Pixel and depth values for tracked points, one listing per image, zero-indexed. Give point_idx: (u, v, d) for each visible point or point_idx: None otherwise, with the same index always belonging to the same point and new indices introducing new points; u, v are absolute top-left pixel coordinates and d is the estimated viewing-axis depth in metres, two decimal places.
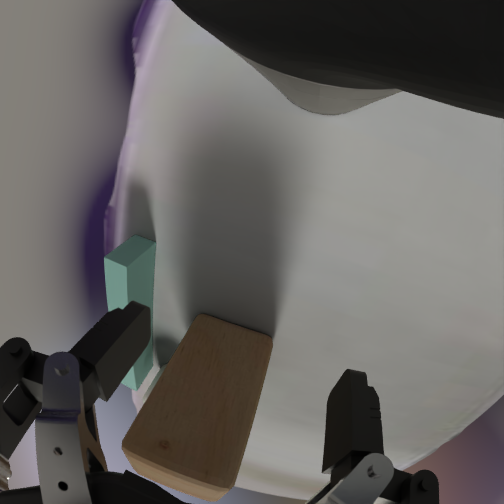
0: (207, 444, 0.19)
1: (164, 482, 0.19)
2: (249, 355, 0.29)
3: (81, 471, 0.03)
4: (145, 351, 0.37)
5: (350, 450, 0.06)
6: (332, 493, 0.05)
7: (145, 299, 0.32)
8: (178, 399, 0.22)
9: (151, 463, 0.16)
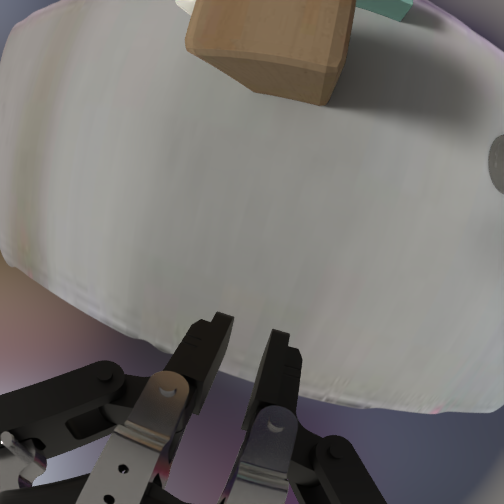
0: None
1: None
2: None
3: (138, 496, 0.03)
4: None
5: (254, 399, 0.07)
6: (242, 460, 0.05)
7: None
8: None
9: None
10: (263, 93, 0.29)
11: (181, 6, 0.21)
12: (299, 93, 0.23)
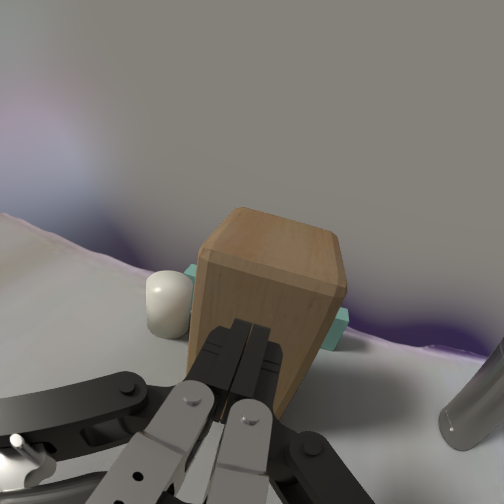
0: None
1: (261, 224, 0.22)
2: None
3: None
4: None
5: (230, 392, 0.07)
6: (219, 456, 0.05)
7: None
8: None
9: (337, 244, 0.22)
10: None
11: (149, 288, 0.32)
12: None
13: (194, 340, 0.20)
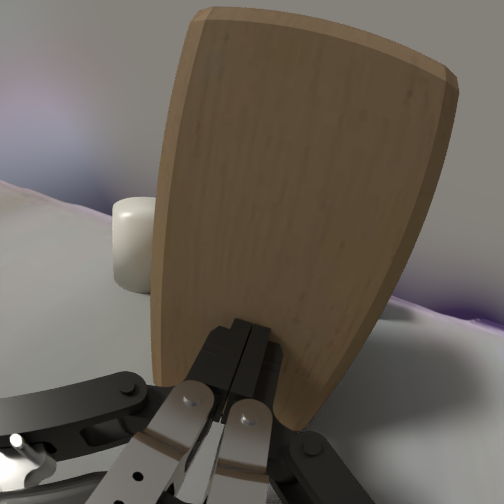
0: None
1: None
2: None
3: None
4: None
5: (229, 392, 0.07)
6: (219, 456, 0.05)
7: None
8: None
9: None
10: None
11: (116, 211, 0.21)
12: (293, 349, 0.11)
13: (162, 214, 0.10)
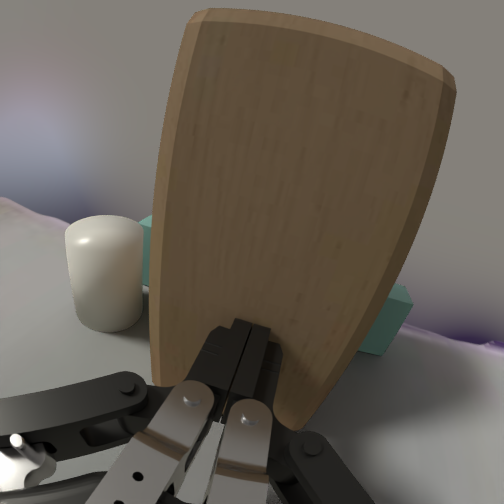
0: None
1: None
2: None
3: None
4: None
5: (229, 392, 0.07)
6: (219, 456, 0.05)
7: None
8: None
9: None
10: None
11: (67, 237, 0.16)
12: (290, 350, 0.11)
13: (159, 215, 0.10)
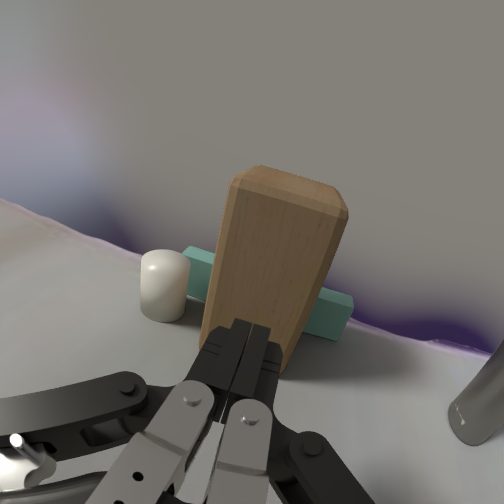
0: None
1: (277, 174, 0.26)
2: None
3: None
4: None
5: (229, 392, 0.07)
6: (219, 456, 0.05)
7: None
8: None
9: (339, 193, 0.26)
10: None
11: (144, 265, 0.30)
12: (272, 324, 0.26)
13: (218, 266, 0.24)
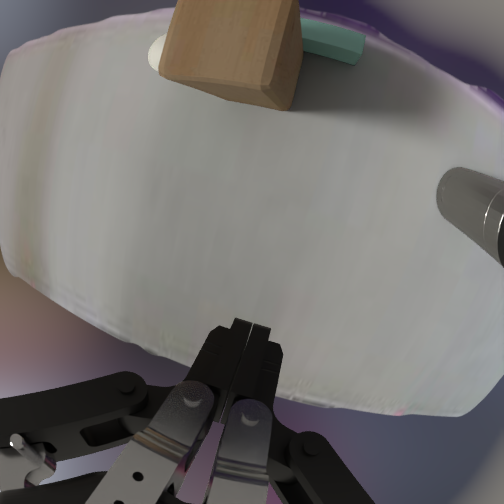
0: (286, 64, 0.19)
1: (202, 15, 0.15)
2: (291, 93, 0.30)
3: None
4: None
5: (230, 392, 0.07)
6: (219, 456, 0.05)
7: (304, 47, 0.29)
8: (297, 39, 0.20)
9: (286, 13, 0.14)
10: (234, 101, 0.35)
11: (153, 67, 0.29)
12: (259, 102, 0.29)
13: None
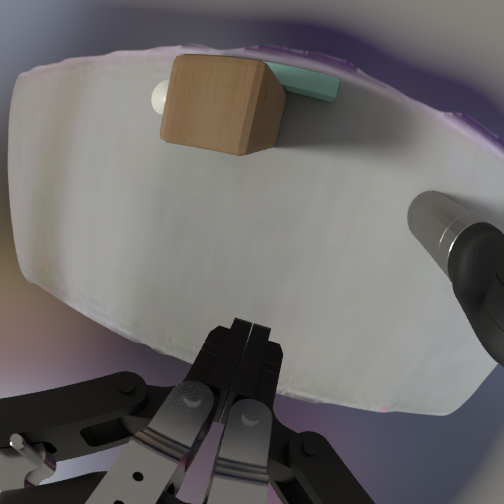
0: (261, 127, 0.27)
1: (191, 89, 0.23)
2: (274, 135, 0.38)
3: None
4: None
5: (230, 392, 0.07)
6: (219, 456, 0.05)
7: (287, 89, 0.37)
8: (273, 96, 0.28)
9: (257, 89, 0.22)
10: None
11: (156, 110, 0.37)
12: None
13: None
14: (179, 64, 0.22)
